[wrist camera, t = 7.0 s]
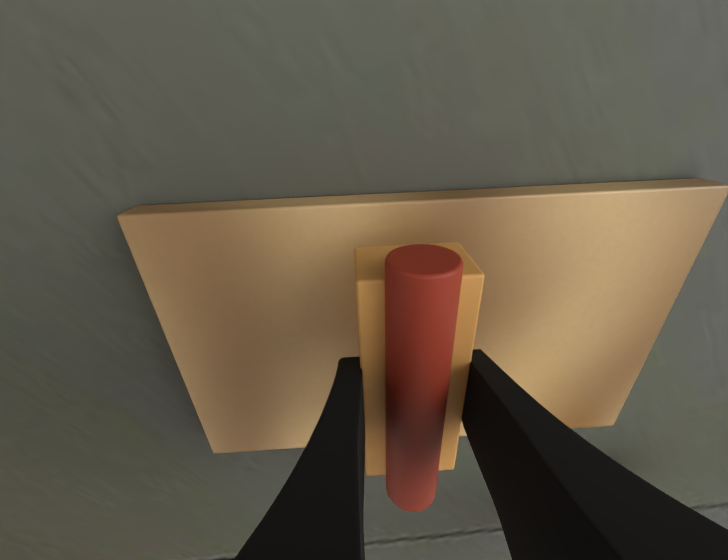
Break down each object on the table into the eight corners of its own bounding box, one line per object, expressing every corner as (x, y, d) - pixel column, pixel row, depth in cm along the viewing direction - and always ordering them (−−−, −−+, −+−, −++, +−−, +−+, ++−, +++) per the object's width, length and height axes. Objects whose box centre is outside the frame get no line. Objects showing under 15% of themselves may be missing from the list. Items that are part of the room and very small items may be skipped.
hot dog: (363, 433, 14) (368, 516, 11) (352, 227, 10) (355, 280, 7) (438, 428, 14) (461, 509, 11) (461, 221, 10) (508, 271, 7)
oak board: (220, 432, 17) (213, 454, 16) (135, 204, 11) (114, 215, 10) (597, 406, 18) (613, 426, 17) (699, 177, 12) (733, 184, 11)
